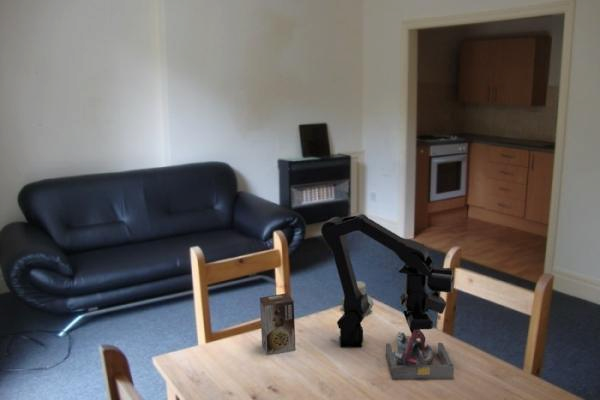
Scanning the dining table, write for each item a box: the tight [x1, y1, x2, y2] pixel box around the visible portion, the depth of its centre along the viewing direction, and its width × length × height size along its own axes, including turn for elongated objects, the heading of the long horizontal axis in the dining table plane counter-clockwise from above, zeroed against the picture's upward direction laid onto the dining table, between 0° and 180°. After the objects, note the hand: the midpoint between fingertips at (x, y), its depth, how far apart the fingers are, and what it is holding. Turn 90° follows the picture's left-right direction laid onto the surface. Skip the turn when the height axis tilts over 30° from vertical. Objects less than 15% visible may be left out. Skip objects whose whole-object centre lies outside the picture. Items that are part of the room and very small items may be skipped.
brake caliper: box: [393, 330, 434, 365], centre depth 161 cm, size 11×11×12 cm
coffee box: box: [259, 292, 297, 356], centre depth 169 cm, size 9×6×16 cm
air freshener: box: [340, 280, 374, 312], centre depth 194 cm, size 11×8×10 cm
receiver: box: [385, 342, 455, 380], centre depth 158 cm, size 16×14×4 cm
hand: (414, 337), depth 164 cm, fingers closed
